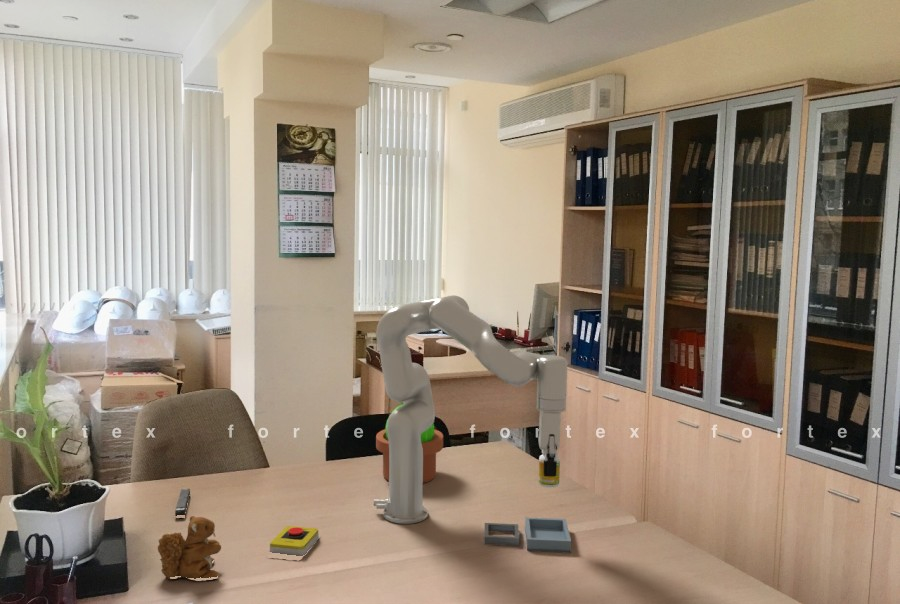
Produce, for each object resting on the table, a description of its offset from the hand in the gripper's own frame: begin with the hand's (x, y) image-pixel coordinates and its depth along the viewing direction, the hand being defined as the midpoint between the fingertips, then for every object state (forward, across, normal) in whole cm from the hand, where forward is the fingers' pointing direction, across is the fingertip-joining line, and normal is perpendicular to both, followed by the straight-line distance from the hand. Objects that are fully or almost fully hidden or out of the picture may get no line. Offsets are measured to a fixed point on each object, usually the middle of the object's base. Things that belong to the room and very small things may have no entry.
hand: (549, 471), depth 187 cm
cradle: (+19, 0, -12) cm, 22 cm away
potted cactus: (+19, -45, -42) cm, 64 cm away
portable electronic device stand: (+19, -11, -103) cm, 106 cm away
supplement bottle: (+4, 0, 0) cm, 4 cm away
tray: (+19, 0, 0) cm, 19 cm away
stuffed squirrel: (+19, +27, -84) cm, 91 cm away
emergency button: (+19, +11, -64) cm, 68 cm away
